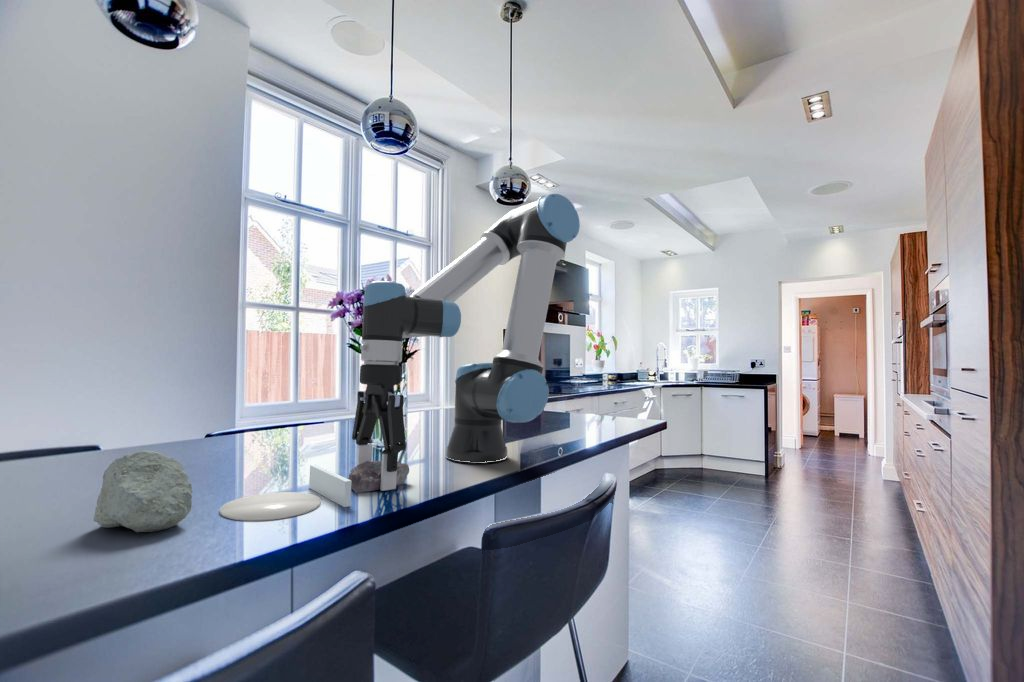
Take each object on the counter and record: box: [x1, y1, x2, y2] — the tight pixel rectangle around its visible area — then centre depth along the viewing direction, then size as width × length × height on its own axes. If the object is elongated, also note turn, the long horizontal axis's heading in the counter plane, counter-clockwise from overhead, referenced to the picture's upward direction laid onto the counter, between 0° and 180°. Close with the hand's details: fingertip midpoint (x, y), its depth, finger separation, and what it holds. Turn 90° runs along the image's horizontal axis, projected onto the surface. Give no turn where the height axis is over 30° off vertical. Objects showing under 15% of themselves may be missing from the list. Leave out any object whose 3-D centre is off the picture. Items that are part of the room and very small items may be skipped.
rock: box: [347, 460, 410, 494], centre depth 90 cm, size 8×11×5 cm
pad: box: [219, 491, 322, 522], centre depth 75 cm, size 14×14×1 cm
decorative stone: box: [93, 449, 193, 533], centre depth 65 cm, size 13×11×10 cm
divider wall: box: [308, 464, 352, 508], centre depth 81 cm, size 1×15×4 cm, turn 43°
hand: (375, 483), depth 90 cm, fingers open, 9 cm apart
